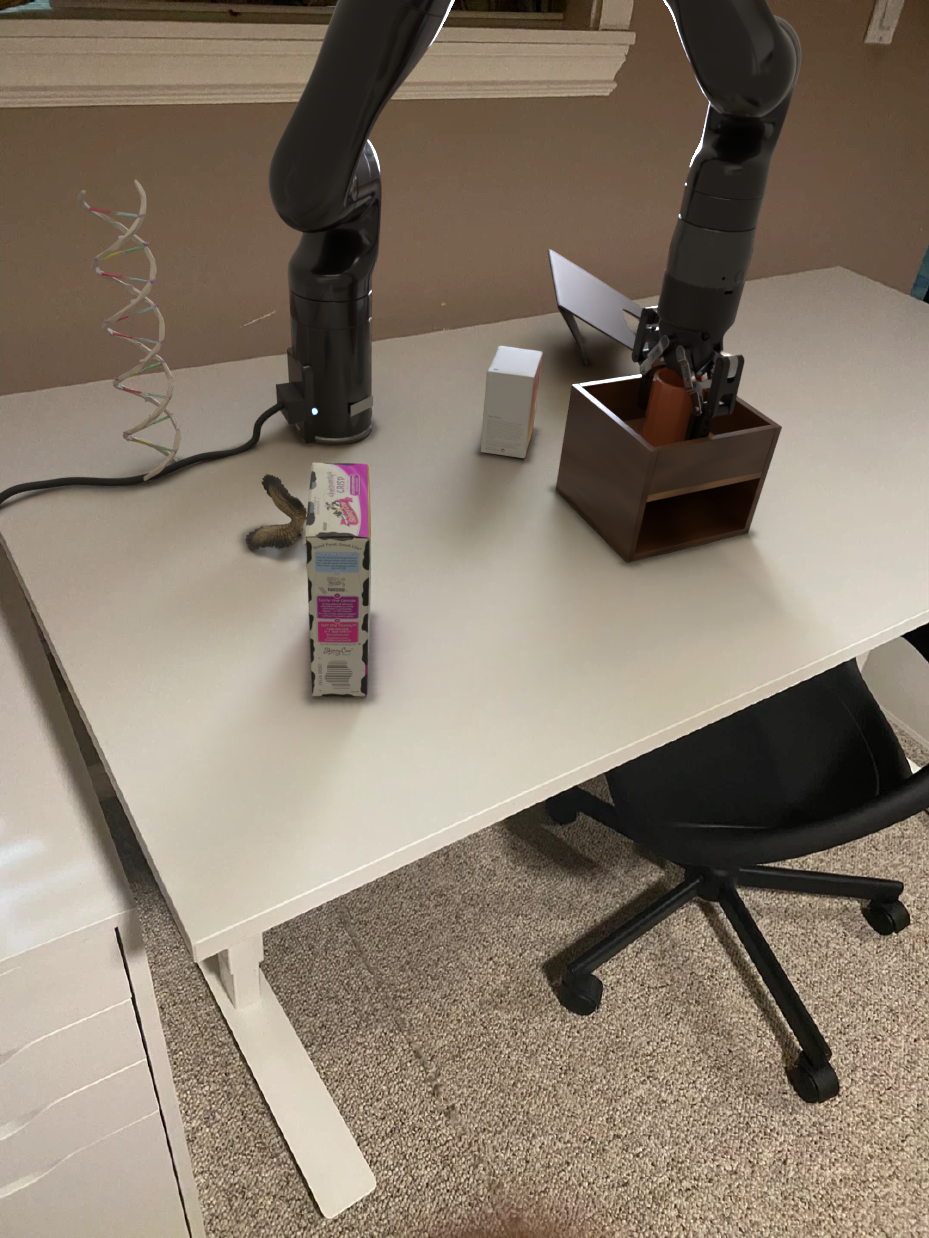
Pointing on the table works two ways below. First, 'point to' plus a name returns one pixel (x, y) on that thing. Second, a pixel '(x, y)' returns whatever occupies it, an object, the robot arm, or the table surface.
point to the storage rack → (660, 472)
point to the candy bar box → (339, 578)
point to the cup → (667, 409)
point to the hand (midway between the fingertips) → (669, 426)
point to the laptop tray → (591, 303)
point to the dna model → (134, 303)
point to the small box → (510, 401)
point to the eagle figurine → (285, 532)
